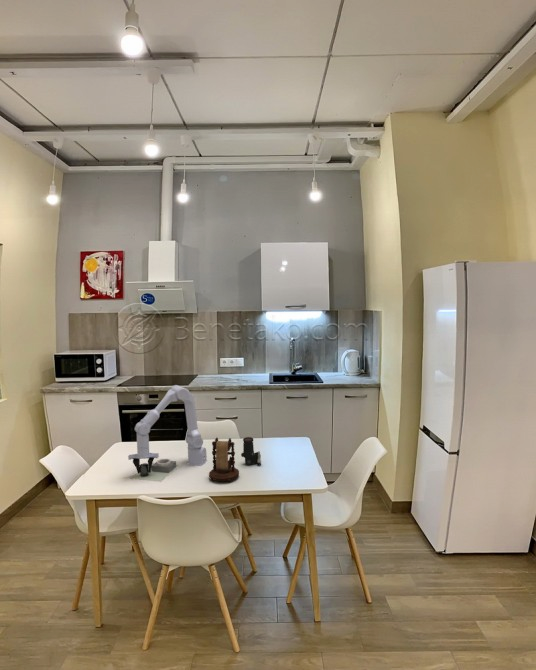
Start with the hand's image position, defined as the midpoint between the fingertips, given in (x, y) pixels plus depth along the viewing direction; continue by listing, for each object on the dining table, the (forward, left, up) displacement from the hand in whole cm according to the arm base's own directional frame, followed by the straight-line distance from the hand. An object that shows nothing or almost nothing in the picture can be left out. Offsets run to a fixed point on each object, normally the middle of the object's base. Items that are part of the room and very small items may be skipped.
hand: (144, 472), depth 208 cm
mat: (-4, -5, -2) cm, 6 cm away
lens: (0, 0, -1) cm, 1 cm away
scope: (-48, -26, -2) cm, 55 cm away
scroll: (-40, -7, -2) cm, 41 cm away
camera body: (-6, -9, -1) cm, 11 cm away
